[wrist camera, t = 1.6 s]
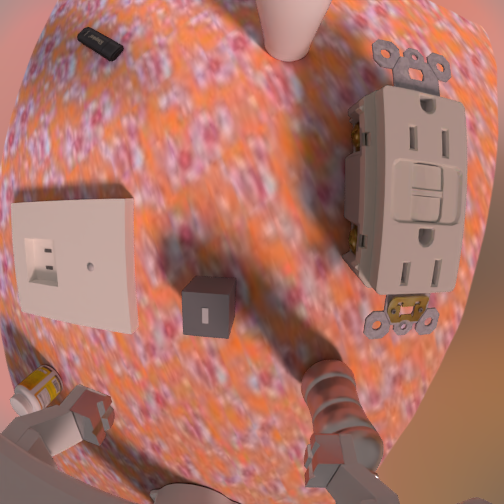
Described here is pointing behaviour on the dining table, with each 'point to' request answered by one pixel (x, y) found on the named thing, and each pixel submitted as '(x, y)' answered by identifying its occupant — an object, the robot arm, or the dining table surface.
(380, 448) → the plastic bottle
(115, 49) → the usb stick
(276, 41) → the drinking glass
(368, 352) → the dining table surface
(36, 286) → the outlet plate
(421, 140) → the electrical outlet
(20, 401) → the supplement bottle
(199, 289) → the block
